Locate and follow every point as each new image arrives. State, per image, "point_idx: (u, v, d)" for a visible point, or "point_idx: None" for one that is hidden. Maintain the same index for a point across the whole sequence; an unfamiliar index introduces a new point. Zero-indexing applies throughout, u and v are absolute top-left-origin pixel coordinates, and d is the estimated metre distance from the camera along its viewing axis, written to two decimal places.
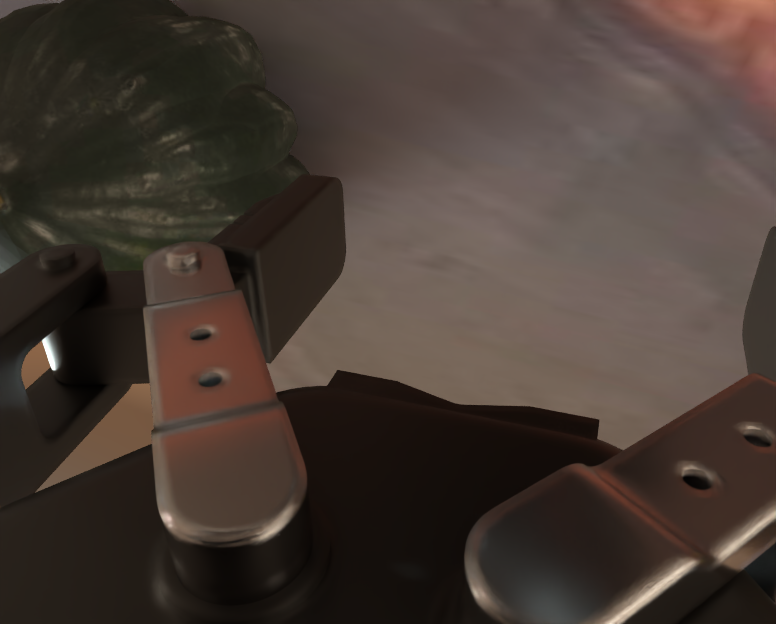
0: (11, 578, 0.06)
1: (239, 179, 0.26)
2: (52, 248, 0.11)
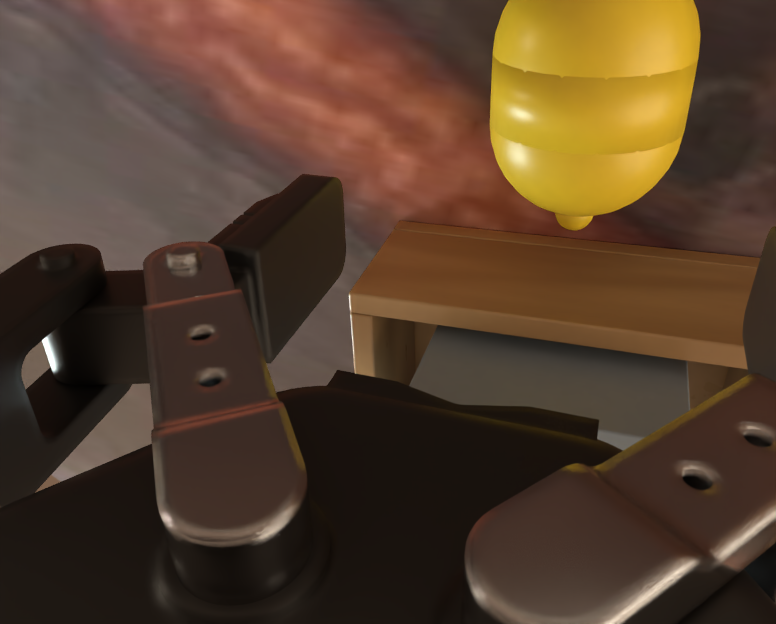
0: (11, 578, 0.06)
1: None
2: (52, 248, 0.11)
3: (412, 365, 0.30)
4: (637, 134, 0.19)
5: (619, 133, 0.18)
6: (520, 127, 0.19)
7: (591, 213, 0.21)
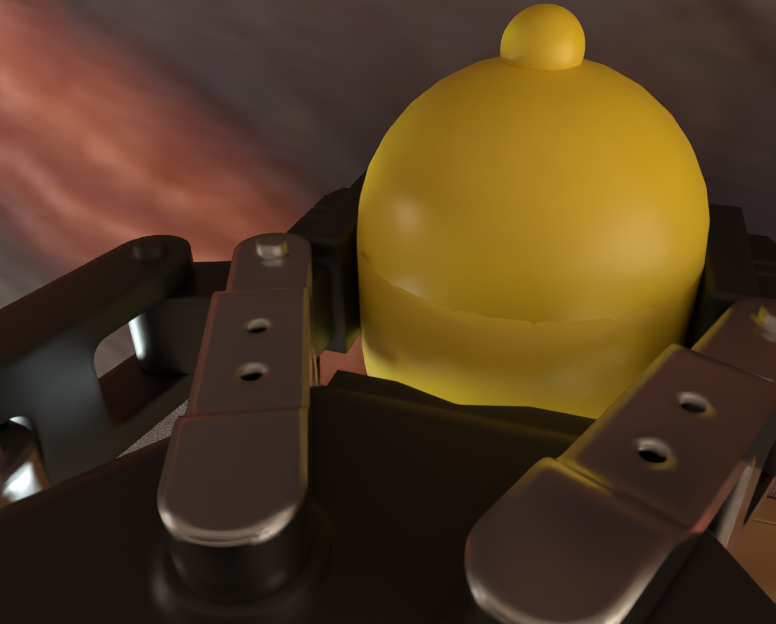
0: (7, 577, 0.06)
1: None
2: (146, 238, 0.11)
3: None
4: (594, 404, 0.10)
5: (561, 404, 0.10)
6: (393, 368, 0.11)
7: None
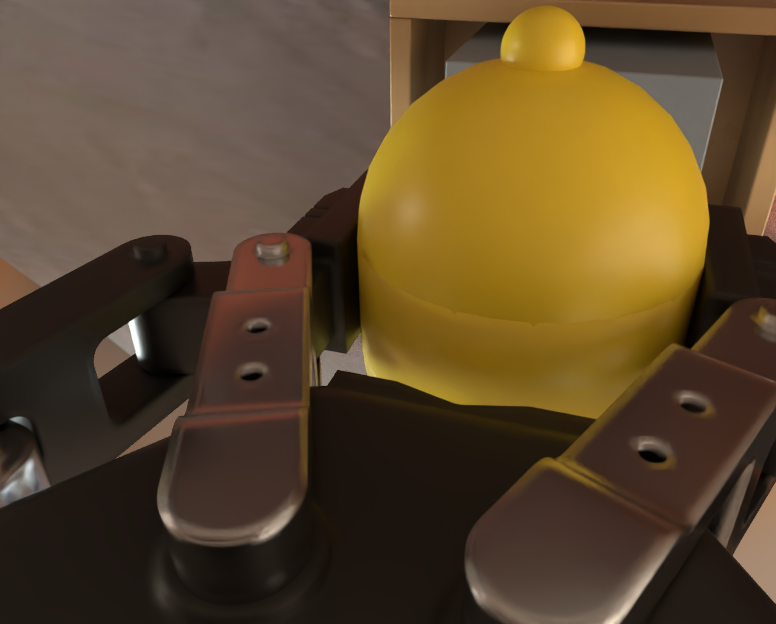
0: (7, 576, 0.06)
1: None
2: (147, 238, 0.11)
3: None
4: (593, 405, 0.10)
5: (561, 405, 0.10)
6: (393, 369, 0.11)
7: None
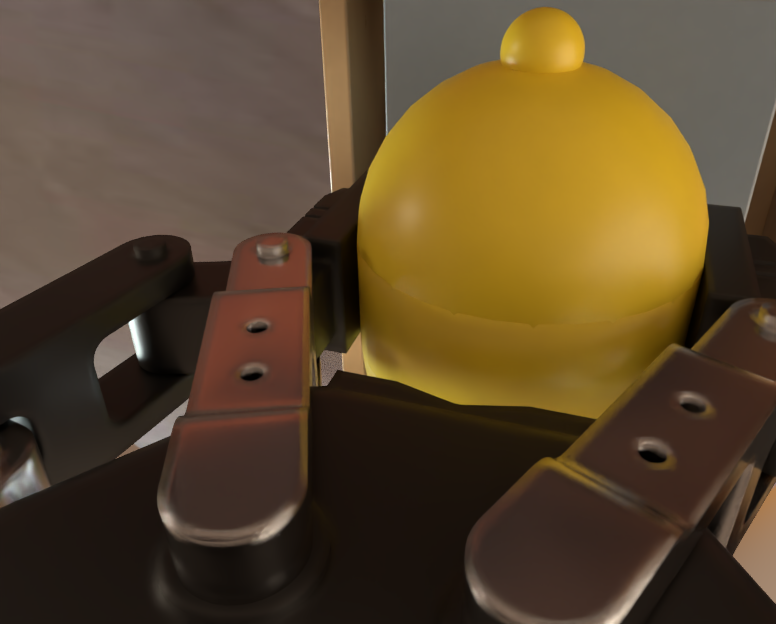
0: (7, 576, 0.06)
1: None
2: (146, 238, 0.11)
3: None
4: (593, 407, 0.10)
5: (561, 406, 0.10)
6: (393, 370, 0.11)
7: None
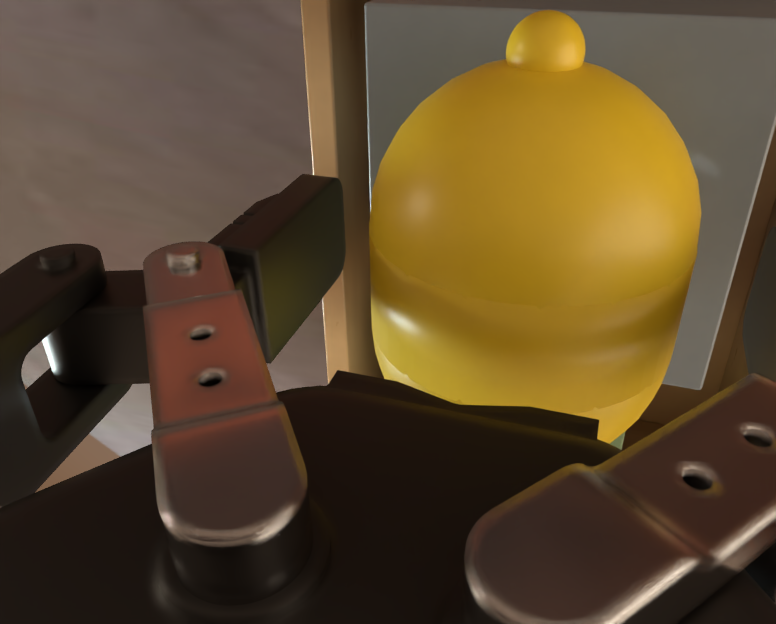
0: (11, 578, 0.06)
1: None
2: (52, 248, 0.11)
3: None
4: (595, 385, 0.11)
5: (565, 385, 0.11)
6: (405, 353, 0.12)
7: None
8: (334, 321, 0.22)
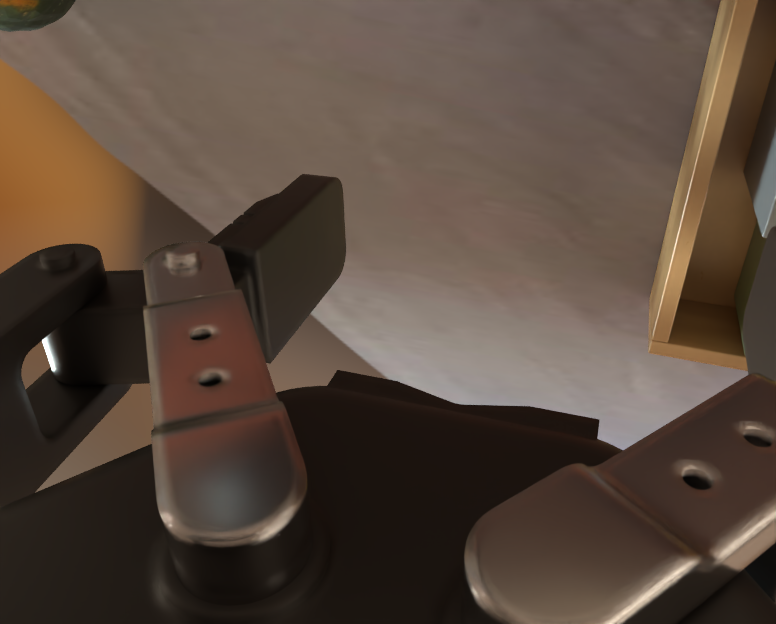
0: (11, 578, 0.06)
1: None
2: (52, 248, 0.11)
3: None
4: None
5: None
6: None
7: None
8: (685, 241, 0.32)
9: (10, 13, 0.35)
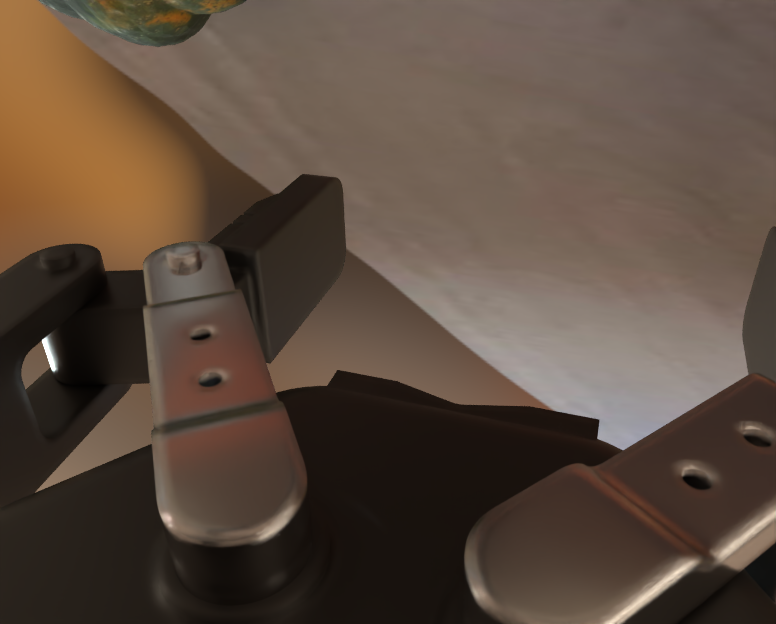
0: (12, 578, 0.06)
1: None
2: (52, 248, 0.11)
3: None
4: None
5: None
6: None
7: None
8: None
9: (166, 29, 0.36)
